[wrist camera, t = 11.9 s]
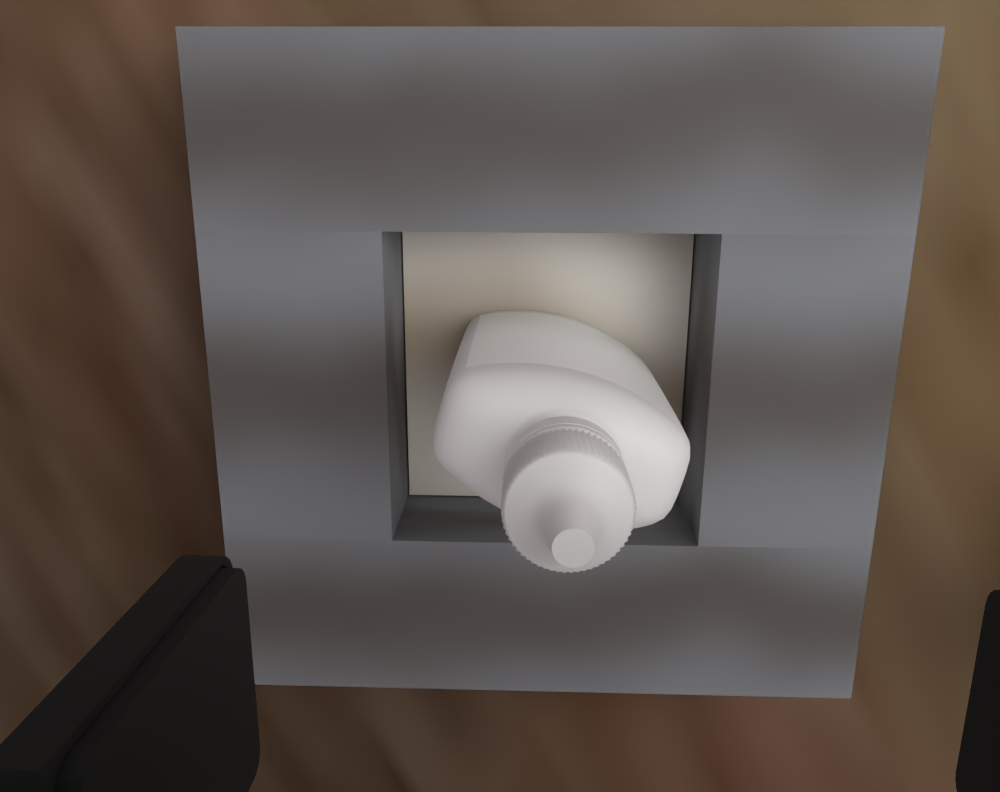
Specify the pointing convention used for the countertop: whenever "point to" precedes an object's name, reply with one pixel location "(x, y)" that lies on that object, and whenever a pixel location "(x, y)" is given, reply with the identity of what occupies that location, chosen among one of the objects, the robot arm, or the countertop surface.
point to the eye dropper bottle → (559, 436)
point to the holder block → (564, 291)
